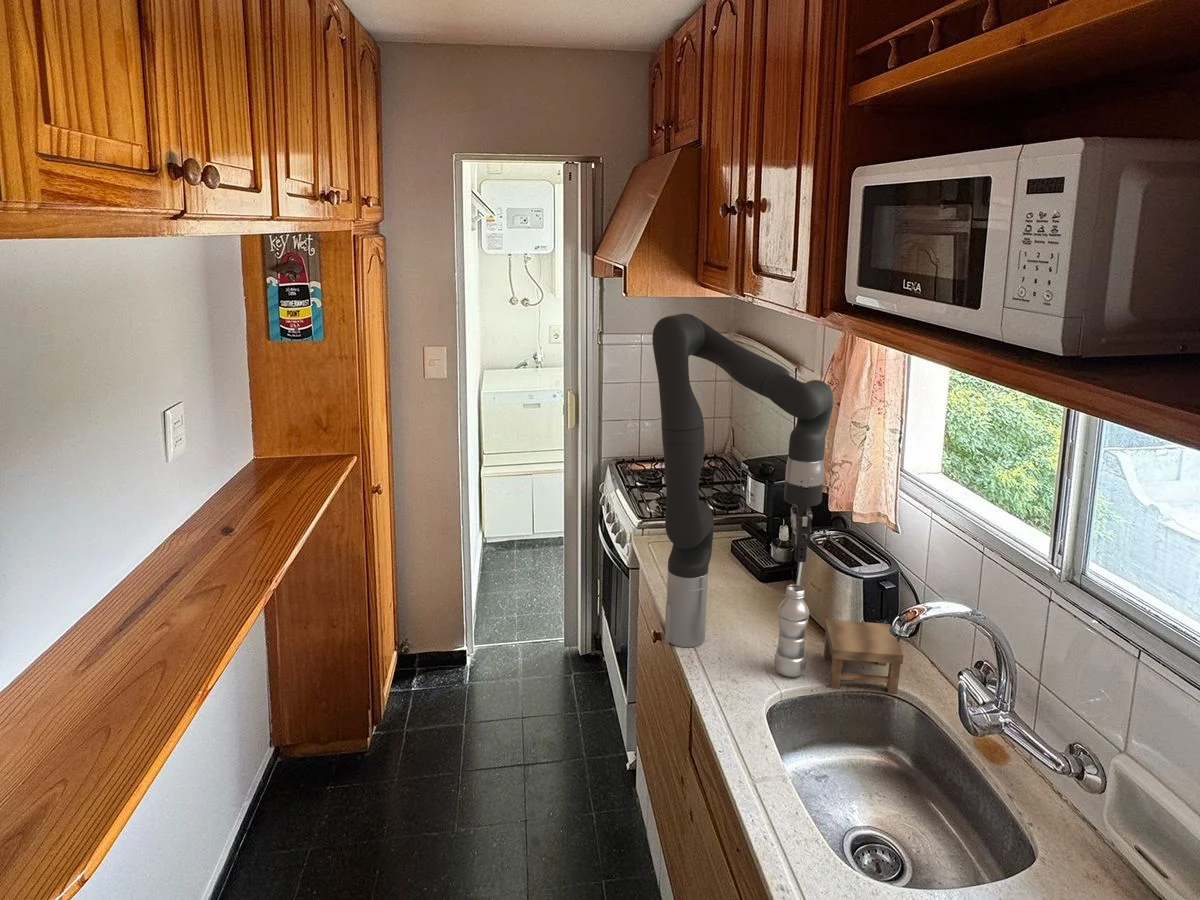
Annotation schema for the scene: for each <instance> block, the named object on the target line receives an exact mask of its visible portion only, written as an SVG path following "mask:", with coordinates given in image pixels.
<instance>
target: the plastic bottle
mask: <svg viewBox="0 0 1200 900" xmlns="http://www.w3.org/2000/svg"><path fill="white" fill-rule="evenodd" d="M785 591H786V592H785V598H784V599H783V600H782V601H781V602H780V604H779V605H778V607H777V618H778V619H777V620H778V641H777V646H776V651H775V655H774V660H773V662H774V663H773V664H774V668H775V670H776V672H777V673H779V674H780V675H781V676H783V677H788V678H796V677H800V676H801V675H802V674H803V673H804V672H805V670H806V666H807V662H806V660H807V659H806V654H805V653H806V652H805V639H806V631H807V626H808V622H809V617H810V610H809V607H808V604H807V603H806V602H805V600H804V599H805V593H806V592H805V587H804V586H802V585H798V584H788V585H787V586H786V590H785Z"/></svg>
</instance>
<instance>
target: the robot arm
mask: <svg viewBox="0 0 1200 900" xmlns="http://www.w3.org/2000/svg"><path fill="white" fill-rule="evenodd" d="M651 337H652V349H653V350H652V351H653V355H654V361H655V362H654V363H655V366H656V367H655V369H656V373H657V378H658V379H657V380H658V389H659V391H658V392H659V403H660V415H661V421H660V422H661V424H660V425H661V439H662V449H663V451H662V452H663V463H664V473H665V485H666V486H665V487H666V488H665V490H666V495H665V497H666V498H665V517H664V521H665V522H664V526H665V528H664V529H665V532H666V535H667V537H668V539H669V541H670V542H671V543H672V548H671V550H670V553H669V556H668V559H667V583H666V584H667V585H666V586H667V587H666V589H667V590H666V601H665V616H664V617H665V619H664V621H665V622H664V623H665V624H664V643H668V644H671V645H673V646H675V647H676V646H677V647H680V648H681V647H682V648H694V647H698V646H700V645H702V644H703V643H704V642H705V639H706V625H707V624H706V620H707V603H708V602H707V601H708V600H707V599H708V581H709V579H708V578H709V567H710V566H709V565H710V561H711V558H712V552H713V543H714V541H713V540H714V529H715V527H714V515H713V512H712V510H711V509H710V507H709V505H708V504H706V502H703V501H702V500H700V496H699V495H700V494H699V493H700V492H699V484H700V478H701V473H702V467H703V462H704V456H705V442H706V438H705V437H706V436H705V424H704V423H705V422H704V421H705V420H704V416H703V412H702V410H701V407H700V405H699V402H698V400H697V398H696V396H695V394H694V392H693V389H692V386H691V382H690V373H689V372H690V371H689V357H690V356H693V357H697V358H700V359H703V360H706V361H709V362H711V363H713V364H714V365H716V366H718V367H720V368H721V369H722V370H723V371H724V372H726V373H727V375H729V376H730V377H731V378H732V379H733V380H735V382H736V383H738V384H739V385H741V386H743V387H744V388H746V389H749V390H750V391H753V392H754V393H756V394H758V395H760V396H762V397H764V398H767V399H769V400H770V401H771V402H773V403H774V405H776V406H777V407H779V408H780V409H781V410H782V411H784V412H786V413H787V414H789V415H791V416H792V417H795V418H797V420H796V424H795V427H794V428H793V429H792V430H791V432H790V435H789V443H788V454H787V455H788V456H787V460H786V461H787V462H786V465H785V478H784V480H785V481H784V491H783V499H784V501H785V502H787V503H789V504H791V505H792V507H791V508H790V523H791V528H792V532H791V546H792V547H795V548H794V549H795V551H794V561H795V562H796V563H805V562H806V561H807V555H808V553H807V552H808V547H809V546H810V545H811V532H812V521H813V512H812V508H811V507H814V506H818V505H819V504H821V503H822V501H823V490H824V489H823V488H824V487H823V486H824V478H825V477H824V476H825V460H824V458H825V449H826V448H825V447H826V436H827V432H828V430H829V425H830V421H831V417H832V412H833V409H834V408H833V407H834V396H833V395H834V394H833V392H832V389H831V386H829V385H828V384H827V383H826V382H825V381H823V380H819V379H813V380H809V381H807V382H803V381H800V380H798V379H796V378H794V376H792V375H791V374H790V371H789V370H788V369H787V368H786V367H784V366H782V365H781V364H779V363H776V362H774V361H772V360H770V359H768V358H765V357H763V356H762V355H759V354H756V353H755V352H753V351H750V350H749V349H747V348H745V347H743V346H741V345H739V344H738V343H736V342H734V341H733V340H731V339H729V338H727V337H726V336H725V335H723V334H721V333H720V332H718V331H717V330H715V329H714V328H713V327H711V325H709V324H707V323H706V322H705V321H703V320H701V319H700V318H699V317H697V316H695V315H693V314H690V313H678V314H673V315H669V316H668V315H667V316H665V317H663V318H660V319H659V320H658V321H657V322H656V323H655V326H654V328H653V331H652V336H651ZM804 536H805V537H804Z"/></svg>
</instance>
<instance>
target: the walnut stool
mask: <svg viewBox="0 0 1200 900" xmlns="http://www.w3.org/2000/svg"><path fill="white" fill-rule="evenodd" d="M824 621H825V622H824V630H825V635H824V636H825V637H824V638H825V639H824V648H823V660H824V661H828V662H831V665H830V667H831V668H830V676H829V677H830V678H829V685H830V688H831V689H840V688H841V680H846V681H856V682H871V683H883V684H886V691H887V693H888V694H898V690H899V681H900V672H901V665H903V664H904V653H903V651H902V649H901V648H902V647H900V644H899V641H898V639H897V636H896V635H895V636H896V637H895V636H893V635H892V634H890V632H889V628H890V626H891V627H892V625H891V623H881V622H880V623H879V622H868V621H866V622H864V621H851V620H839V619H827V618H826V619H825V620H824ZM844 660H845V661H856V662H857V661H859V662H869V663H877V665H878V666H887V665H888V672H887V675H886V676H885V675H875V674H874V675H873V674H863V673H850V672H842V670H843V661H844Z"/></svg>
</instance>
